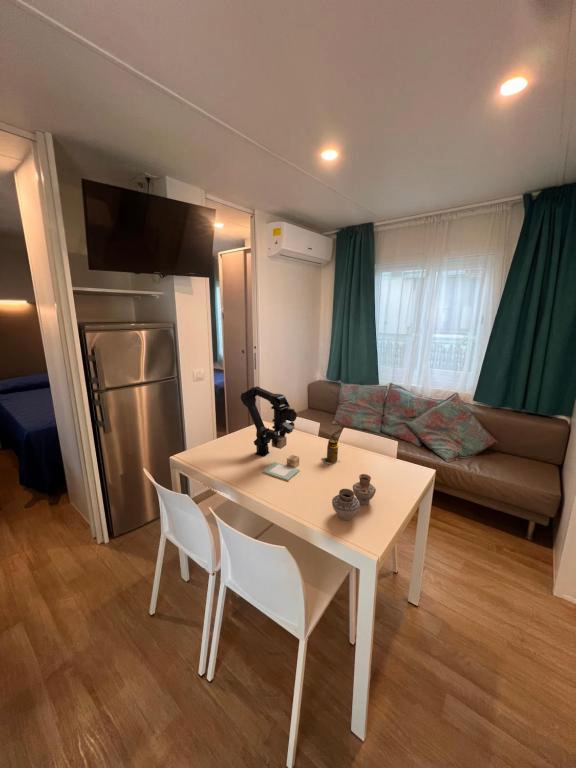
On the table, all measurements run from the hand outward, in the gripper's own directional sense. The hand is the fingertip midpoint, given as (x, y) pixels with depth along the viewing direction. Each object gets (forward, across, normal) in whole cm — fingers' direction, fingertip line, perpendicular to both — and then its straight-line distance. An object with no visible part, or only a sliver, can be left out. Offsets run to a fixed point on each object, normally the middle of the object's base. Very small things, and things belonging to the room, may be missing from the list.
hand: (279, 444), depth 168 cm
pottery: (+11, -19, -51) cm, 55 cm away
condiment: (+10, +16, -25) cm, 31 cm away
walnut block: (+1, 0, 0) cm, 1 cm away
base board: (+10, -10, -8) cm, 16 cm away
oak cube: (+10, -1, -10) cm, 14 cm away
